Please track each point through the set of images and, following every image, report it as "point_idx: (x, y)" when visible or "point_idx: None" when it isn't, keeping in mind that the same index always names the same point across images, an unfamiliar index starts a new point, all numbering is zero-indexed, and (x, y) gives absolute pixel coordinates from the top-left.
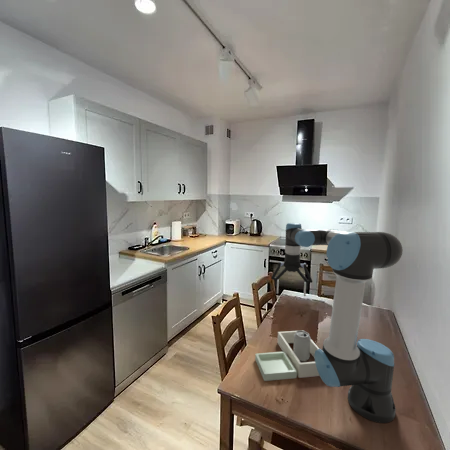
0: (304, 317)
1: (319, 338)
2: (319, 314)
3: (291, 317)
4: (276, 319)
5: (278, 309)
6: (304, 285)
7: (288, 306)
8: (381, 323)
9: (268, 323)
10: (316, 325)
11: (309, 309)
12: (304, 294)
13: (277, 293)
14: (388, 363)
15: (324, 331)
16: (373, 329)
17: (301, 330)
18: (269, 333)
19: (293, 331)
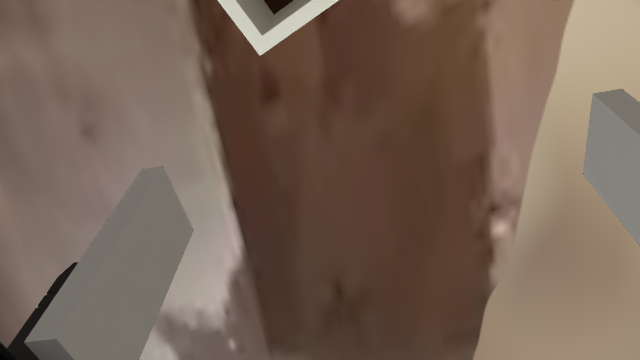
0: (319, 278)
1: (195, 107)
2: (257, 325)
3: (385, 255)
4: (466, 206)
5: (467, 305)
6: (89, 307)
7: (417, 346)
8: (8, 339)
9: (512, 144)
10: (245, 228)
11: (312, 351)
12: (148, 183)
13: (604, 92)
14: None
15: (193, 188)
16: (13, 287)
17: (272, 46)
18: (495, 24)
19: (323, 2)
